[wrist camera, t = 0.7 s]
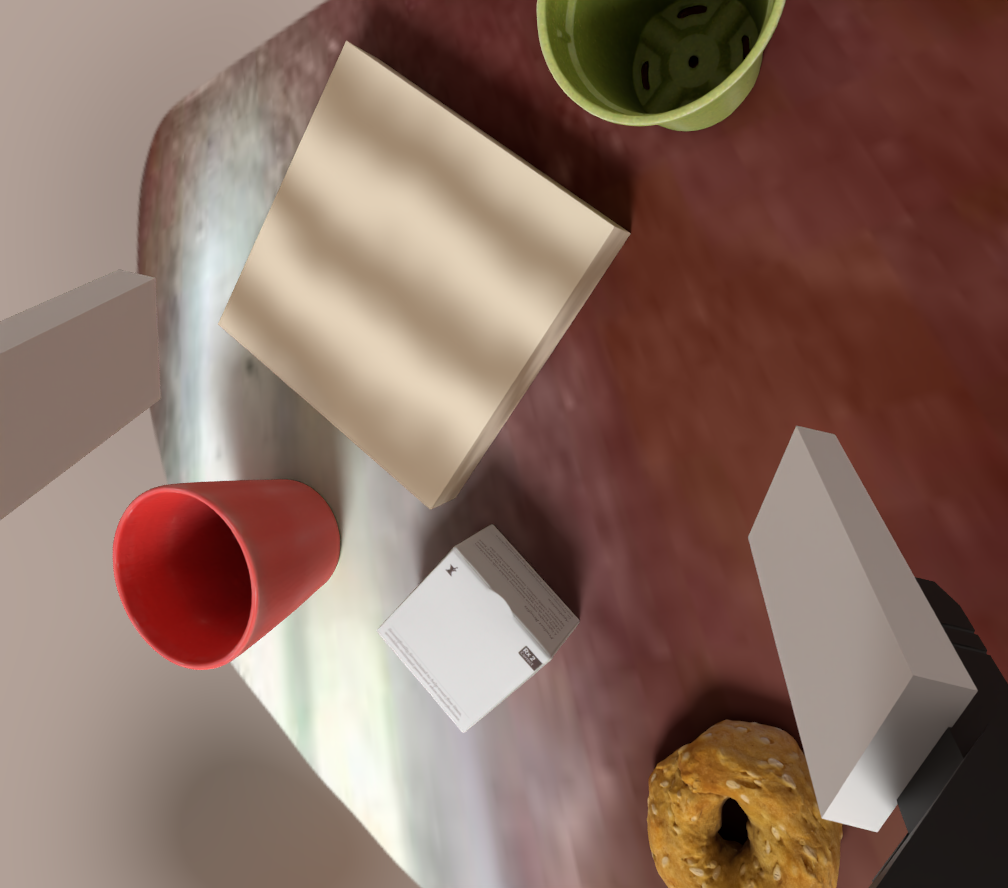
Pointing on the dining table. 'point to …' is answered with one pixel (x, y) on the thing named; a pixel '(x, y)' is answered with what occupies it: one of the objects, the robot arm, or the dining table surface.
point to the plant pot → (656, 56)
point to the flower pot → (220, 563)
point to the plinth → (413, 276)
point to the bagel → (764, 798)
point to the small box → (478, 627)
